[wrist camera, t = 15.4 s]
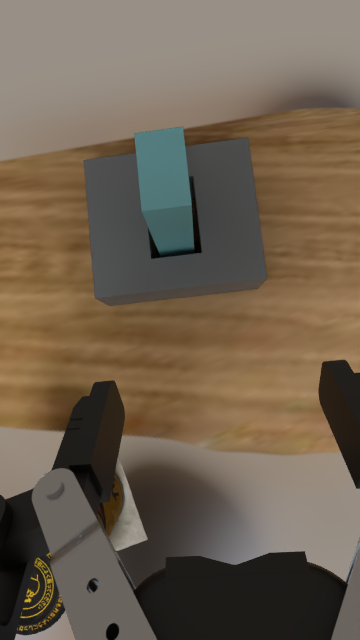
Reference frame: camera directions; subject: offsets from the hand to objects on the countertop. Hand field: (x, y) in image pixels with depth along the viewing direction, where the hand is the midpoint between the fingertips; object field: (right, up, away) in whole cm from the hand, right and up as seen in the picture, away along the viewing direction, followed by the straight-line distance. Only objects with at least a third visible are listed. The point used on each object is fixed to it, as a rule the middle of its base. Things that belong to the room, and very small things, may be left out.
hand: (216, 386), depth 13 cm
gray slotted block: (-2, +11, +19) cm, 22 cm away
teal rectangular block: (-2, +11, +19) cm, 22 cm away
